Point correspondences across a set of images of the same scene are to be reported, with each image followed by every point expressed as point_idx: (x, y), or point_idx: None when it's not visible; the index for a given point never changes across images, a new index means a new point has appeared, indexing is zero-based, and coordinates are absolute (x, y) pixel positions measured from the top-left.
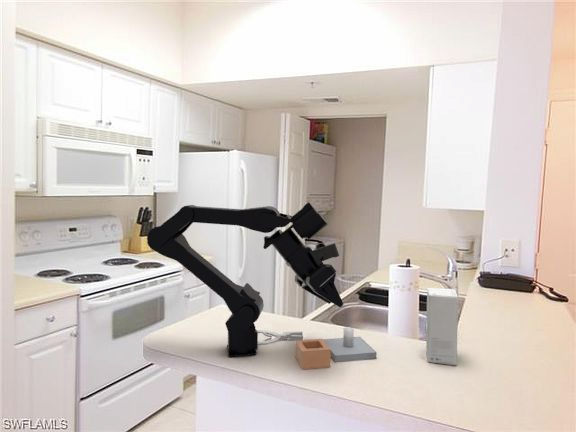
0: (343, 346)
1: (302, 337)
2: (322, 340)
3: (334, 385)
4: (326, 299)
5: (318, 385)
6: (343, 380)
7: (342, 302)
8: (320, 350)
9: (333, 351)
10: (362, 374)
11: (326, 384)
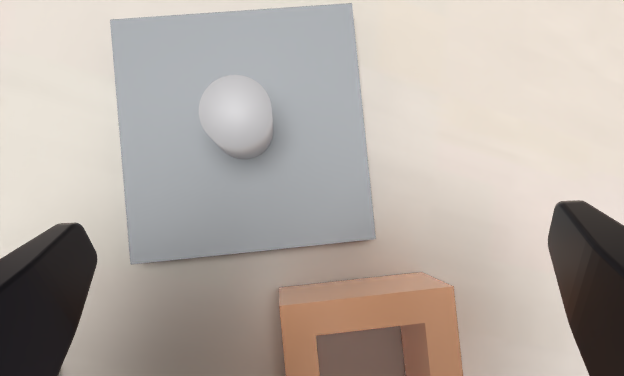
0: (254, 161)
1: None
2: (311, 309)
3: None
4: (66, 304)
5: None
6: None
7: (605, 216)
8: (457, 348)
9: (321, 235)
10: (507, 139)
11: None
